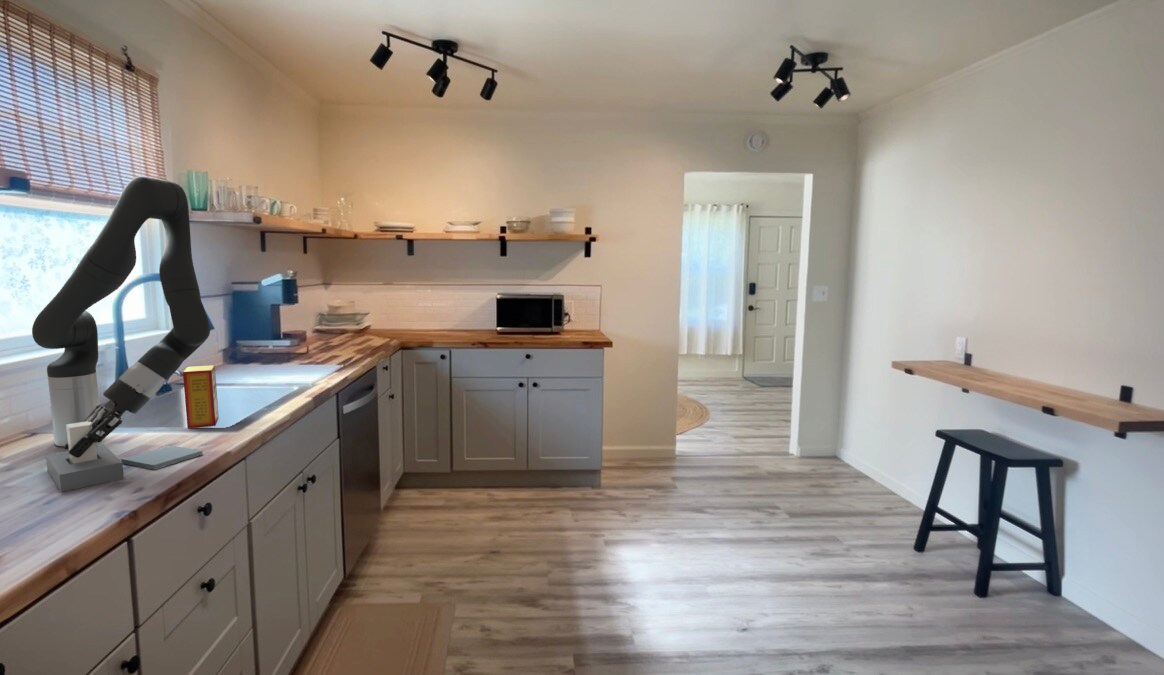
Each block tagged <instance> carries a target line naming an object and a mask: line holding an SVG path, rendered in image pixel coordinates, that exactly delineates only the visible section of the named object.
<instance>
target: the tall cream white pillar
mask: <svg viewBox="0 0 1164 675" xmlns="http://www.w3.org/2000/svg"><path fill="white" fill-rule="evenodd" d="M91 423H92V422H91V421H87V422H79V423H73V424H66V430H67V439H68V449H69V450H70V449H71V448H72V447H73V446H74V445H75V444H76V443H77V442H78V441H79V440H80V439H81V438H82V437H83V436H84V434H86V433H87V431H88V430H89V429H90V427H89V426H90V424H91ZM96 446H97V442H96V443H95V444H94V443H93V444H92V445H91V446H90V447H89V448H88V449H87V450H86V451H85V452H84V453H83V454H82V455H81V456H80V457H79V458H76V457H74V456H73V455H71V454H69V458H70V464H75V463H80V462H85V461H90V460H95V459H97V450H96ZM69 450H68V451H69Z"/></svg>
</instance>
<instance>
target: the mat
mask: <svg viewBox="0 0 1164 675" xmlns="http://www.w3.org/2000/svg"><path fill="white" fill-rule="evenodd" d="M199 455H200V456H203V449H202V450H200V449H196V448H190V447H189V448H188V447H182V446H177V445H170V444H169V445H167V446H163V447H160V448H157V449H152V450H148V451H146V452H142V453H138V454H137V453H136V454H134V455H130V456H127V457H124V458H120V460H121V461H122V462H123V465H129V466H134V467H139V468H144V469H149V470H153V469H155V470H158V469H160V467H161V468H164V467H167V466H166V465H168V466H170V464H171V465H173V464H177V463H180V461H181V462H184V461H186V460H189V459H193V457H194V458H196V456H197V457H200V456H199ZM183 460H184V461H183ZM163 466H164V467H163ZM157 468H158V469H157Z"/></svg>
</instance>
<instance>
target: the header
mask: <svg viewBox="0 0 1164 675" xmlns="http://www.w3.org/2000/svg"><path fill="white" fill-rule="evenodd" d="M96 450H97V459H95V460H90V461H85V462H80V463H75V464H70V458H69V450H65V451H61V452H55V453H51V454H46V455H45V458H46V460H45V461H46V467H47V468H46V470H47V472H48V474H49V475H50V477H51V478H52V480H53V482H54V483H55V485H56V486H57V488H58V489H59V491H60V493H62V492H68V491H72V490H76V489H81V488H87V487H91V486H95V485H99V484H105V483H110V482H115V481H118V480H123V479H125V475H124V473H125V472H124V464H123V462H122V460H121V458H119V457H117V455H116V454H115V453H114V452H112V451H111V450H110V449H109V448H108V447H107V445H105V444H100V445H96Z"/></svg>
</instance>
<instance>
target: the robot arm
mask: <svg viewBox="0 0 1164 675" xmlns="http://www.w3.org/2000/svg"><path fill="white" fill-rule="evenodd" d="M189 210H190V209H189V202H188V196H187V195H186V192H185V190H184V188H183V187H182V186H181V185H180V184H178V183H176V182H174V181H170V180H165V179H160V178H156V177H151V176H142V175H141V176H136V177H133V178H132V179H131V180H130V181H129V182H127V184H126V185H125V186H124V188H123V190H122V191H121V193H120V195H119V197H118V199H117V200H116V203H115V205H114V207H113V210H112V211H111V214H110V215H109V217H108V219H107V221H106V223H105V224H104V225H103V227H102V229H101V230H100V232H99V234H98V235H97V236H96V238H95V240H94V241H93V243H92V244H91V246H89V248H88V249H87V251H86V252H85V254H84V255H83V256H82V258H81V259H80V261H79V263H78V265H77V266H76V268H75V269H74V270H73V272H72V274H71V275H70V276H69V278H68V279H67V280H66V281H65V283H64V284H63V286H62V287H61V288H60V290H59V291H58V292H57V294H56V295H55V296H54V297H53V298H52V299H51V300H50V301H49V302H48V304H46V305H45V307H44V308H43V309H42V310H41V311H40V312H39V314H38V315H37V316H36V318H35V320H34V322H33V323H32V324H33V325H32V329H31V333H32V334H31V335H32V338H33V341H34V342H35V344H37V345H38V346H39V347H41V348H45V349H49V350H58V349H64V350H63V353H62V355H60V356H59V358H57V359H56V360H54V361H52V362H51V363H49V364H48V365H47V366H46V373H47V374H46V375H47V382H48V392H49V400H50V415H51V422H52V423H51V424H52V431H53V442H54V443H55V446H57V447H64V449H65V450H66V451H69V454H71V455H73V456H74V457H76V458H79V457H80V456H81V455H82V454H83V453H84V452H85V451H86V450H87V449H88V448H89V447H90V446H91V445H92V444H93V443H94V444H95V443H96V444H97V443H101V442H102V441H103V440H104V439H106V437H108V436H109V435H110V434H111V433H112V432H113V431H114V430H116V429H117V428H118V427H120V425H121V424H122V423H123V420H122V416H123V415H124V414H125V412H126V411H128V412H129V413H131V414H137V413H138V412H139V411H140V410H141V409H142V408H143V407H144V406H145V405H146V404H147V403H148V402H149V401H150V400H151V399H152V398H153V397H154V396H156V393H158V392H159V391H160V389H161V388H162V387H163V386H164V384H165V383H166V382H167V381H168V380H169V379H170V378H171V376H173V375H174V373H175V372H177V371H178V369H179V368H180V367H181V365H182V364H183V363H184V361H186V360H187V359H188V358H189V357H190V356H191V355H193V353H194V352H195V351H197V350H198V349H199V348H200V347H201V346H202V345H204V343H205V342H206V341H207V339H208V338H209V337H210V334H211V327H210V322H209V319H208V315H207V311H206V310H205V306H204V304H203V301H202V298H201V292H200V291H201V290H200V287H199V283H198V282H199V281H198V279H197V274H196V271H195V266H194V262H193V255H192V239H191V238H192V237H191V226H190V223H191V222H190V211H189ZM149 219H152V220H153V219H154V220H161V222H162V224H163V228H164V231H165V239H166V240H165V247H164V250H163V253H162V256H161V260H160V261H159V262H160V264H159V272H158V274H159V280H160V284H161V287H162V291H163V292H162V293H163V295H164V299H165V301H166V303H167V306H168V308H169V313H170V317H171V323H172V328H171V330H170V331H169V332H167V334H166V335H165V336H164V337H163V338H162V339H161V340H160V341H159V342H158V343H157V344H155V345H153V346H152V347H151V348H150V349H149V350H148V351H146V353H144V354H143V355H142V356H141V357H140V358H139V359H138V360H137V361H136V362H135V363H133V364H132V365H131V366H129V368H127V369H126V370H125V371H124V372H123V373H122V374H121V375H120V376H119V377H118V378H117V379H116V380H115V381H114V382H113V383H112V384H111V385H110V386H109V387H107V389H106V390H104V392H103V393H102V396H103V397H104V398H106V399H108V400H109V401H108V402H106V403H105V404H104V405H103V406H102V405H100V396H99V386H98V377H97V365H98V361H99V339H98V338H99V335H98V334H99V333H98V332H99V331H98V325H97V322H96V320H95V318H94V316H93V315H92V313H90V312H89V311H87V310H89V309H90V307H92V306H93V305H94V304H97V303H98V302H100V301H102V300H103V299H105V298H106V297H108V296H109V295H111V294H113V293H114V292H116V290H118V289H119V288H120V287H122V285H123V284H124V282H125V281H126V280H127V279H128V278H129V275H130V274H131V273H132V271H133V270H134V268H135V266H136V263H137V249H136V244H135V243H136V242H135V240H136V239H135V238H136V236H137V234H138V232H139V231H140V229H141V227H142V226H143V225H144V223H146V221H147V220H149ZM87 421H91V422H92V423H91V424H90V426H89V427H90V429H89V430H88V431H87V433H86V434H84V436H83V437H82V438H81V439H80V440H79V441H78V442H77V443H76V444H75V445H74V446H73V447H72V448H71V449H70V450H69V449H68V439H67V430H66V424H73V423H79V422H87Z"/></svg>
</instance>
